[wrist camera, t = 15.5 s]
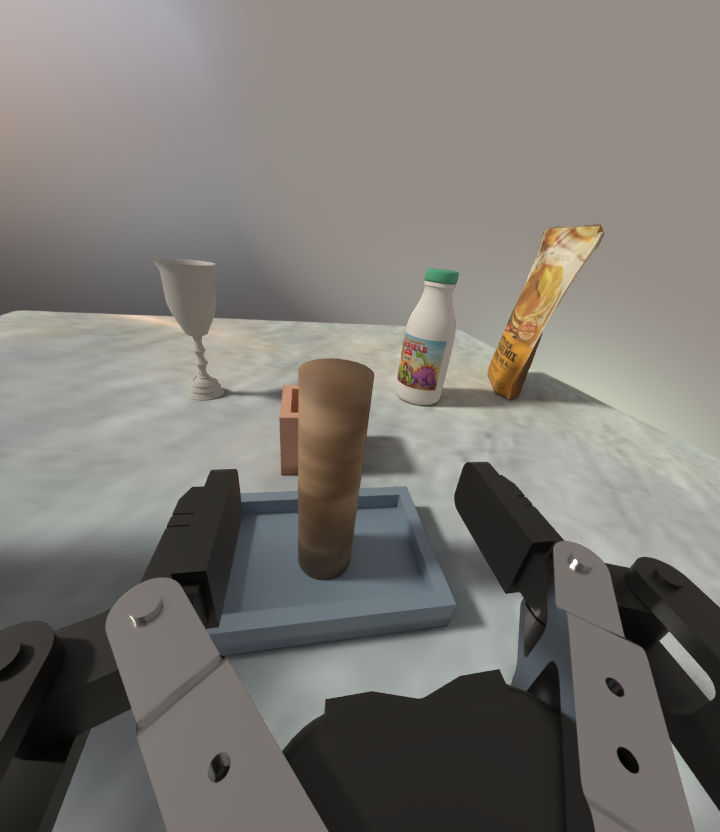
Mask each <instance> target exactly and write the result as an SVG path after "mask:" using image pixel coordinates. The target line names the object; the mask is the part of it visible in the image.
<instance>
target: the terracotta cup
mask: <svg viewBox="0 0 720 832" xmlns="http://www.w3.org/2000/svg"><path fill="white" fill-rule="evenodd" d="M298 405H299V385H283V393H282V401H281V410H280V445H281V474H282V475H298Z"/></svg>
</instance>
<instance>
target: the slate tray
mask: <svg viewBox="0 0 720 832" xmlns="http://www.w3.org/2000/svg"><path fill="white" fill-rule="evenodd" d="M240 494H241V502H242V517H241V524H240V529H239V534H238V539H237V544H236V548H235V553H234V558H233V563H232V568H231V572H230V577H229V582H228V587H227V592H226V597H225V601H224V606H223V611H222V616H221V621H220V625H219V627H218V628H210V629H206V631H207V633H208V634H209V636H210V638H211V640H212V641H213V643H214V645H215V647H216V648H217V650H218V652H219V653H220V654H221V656H225V655H232V654H239V653H247V652H254V651H262V650H269V649H277V648H284V647H292V646H299V645H307V644H314V643H322V642H329V641H336V640H344V639H351V638H359V637H366V636H374V635H381V634H389V633H396V632H404V631H411V630H419V629H426V628H434V627H441V626H447V625H448V623H449V621H450V618H451V616H452V614H453V611H454V609H455V607H456V602H455V600H454V598H453V595H452V593H451V591H450V588H449V586H448V583H447V581H446V579H445V576H444V574H443V572H442V569H441V567H440V565H439V562H438V560H437V557H436V555H435V553H434V550H433V548H432V546H431V543H430V541H429V539H428V536H427V534H426V531H425V529H424V527H423V524H422V522H421V520H420V517H419V515H418V513H417V510H416V508H415V506H414V503H413V501H412V498H411V496H410V494H409V491H408V489H407V487H384V488H360V490H359V498H358V505H357V513H356V521H355V529H354V537H353V544H352V552H351V560H350V564H349V566H348V568H347V569H346V571H345V572H344V573H343V574H341V575H340V576H338V577H337V578H334V579H331V580H316V579H313V578H311V577H309V576H308V575H306V574H305V573H304V572H303V571H302V569H301V568H300V565H299V562H298V491H288V492H264V493H240Z"/></svg>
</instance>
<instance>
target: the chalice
mask: <svg viewBox="0 0 720 832" xmlns="http://www.w3.org/2000/svg"><path fill="white" fill-rule="evenodd" d="M153 261H154V262H155V264H156V265H157V267H158V268H159V270H160V273H161V278H162V284H163V288H164V294H165V299H166V303H167V305H168V306H169V309H170V310H171V312H172V314H173V316H174V318H175V319H176V321H177V322H178V323H179V325H180V326H181V328H182V329H183V331H184V332H185V333H186V334H187V335H190V336H193V339H194V341H195V347H194V349H193V351H194V352H195V353H196V355H197V360H196V362H195V364H196V365H198V368H199V375H198V377H195V378H194V379H193V380H192V382H191V386H190V387H189V389H190V390H189V392H188V396H189V397H190V398H192V399H195V400H211V399H215V398H218V397H220V396H222V395H223V394H224V390H223V389H222V388H221V385H220V384H219V383H218V380H217V379H216V378H214V377H213V376H209V374H207V372H206V365H207V363H208V362H207V361H206V360H205V358H204V352H205V348H204V347H203V345H202V342H201V341H202V336H204V335H206V334H207V333H208V331H209V328H210V326H211V323H212V320H213V317H214V313H215V308H216V296H215V288H214V280H213V270H214V268H215V265H216V264H214V263H210V262H204V261H196V260H184V259H154V260H153Z"/></svg>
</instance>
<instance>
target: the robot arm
mask: <svg viewBox="0 0 720 832" xmlns="http://www.w3.org/2000/svg"><path fill="white" fill-rule="evenodd" d="M454 500H455V506H456V509H457V511H458V513H459V514H460V516H461V518H462V520H463V521H464V523H465V525H466V526H467V528H468V530H469V532H470V533H471V535H472V537H473V539H474V540H475V542H476V544H477V545H478V547H479V549H480V551H481V552H482V554H483V556H484V558H485V559H486V561H487V563H488V564H489V566H490V568H491V570H492V571H493V573H494V575H495V576H496V578H497V580H498V582H499V583H500V585H501V587H502V589H503V590H504V592H505V594H507V593H515V592H520V593H521V594H522V596H523V597H524V598H523V600H522V602H521V606H520V623H519V641H518V659H517V666H516V671H515V674H514V676H513V680H512V683H511V685H508V684H506V683H505V681H504V679H503V676H502V674H501V672H500V670H499V669H497V670H492V671H486V672H480V673H475V674H469V675H463V676H459V677H458V678H456V679H454V680H453V681H451V682H449V683H448V684H446V685H444V686H443V687H441V688H439V689H438V690H436V691H434V692H433V693H431V694H429V695H428V696H426V697H424V698H421V699H416V698H410V697H404V696H397V695H391V694H385V693H379V692H373V691H371V692H366V693H360V694H354V695H348V696H343V697H337V698H331V699H326V701H325V712H324V714H323V715H322V716H320V717H318V718H316V719H315V720H313V721H312V722H310V723H309V724H308V725H307V726H305V727H304V728H303V729H302V730H301V731H300V732H299V733H298V734H297V735H296V736H295V737H294V738H293V739H292V740H291V741H290V742H289V743H288V745H287V746H286V747H285V748H284V750H283V751H281V749H280V748H279V746H278V744H277V742H276V741H275V739H274V737H273V736H272V734H271V732H270V730H269V729H268V727H267V725H266V724H265V722H264V720H263V718H262V717H261V715H260V713H259V712H258V710H257V708H256V706H255V705H254V703H253V701H252V700H251V698H250V696H249V694H248V693H247V691H246V689H245V688H244V686H243V684H242V682H241V681H240V679H239V677H238V675H237V674H236V672H235V670H234V669H233V667H232V665H231V664H230V662H229V661H228V660H227V658H226V657H225V656H221V654H220V653H219V652H218V650H217V648H216V647H215V645H214V643H213V641H212V640H211V638H210V636H209V634H208V633H207V631H206V629H210V628H218V627H219V625H220V621H221V616H222V611H223V606H224V601H225V597H226V592H227V587H228V582H229V577H230V572H231V568H232V563H233V558H234V553H235V548H236V544H237V539H238V534H239V529H240V524H241V517H242V502H241V494H240V486H239V478H238V472H237V469H221V470H211V471H210V473H209V476H208V478H207V481H206V483H205V486H204V487H192V488H191V489H190V490H189V491H187V492H186V493H185V494H184V495H183V496H182V497H181V498H180V499H179V501H178V503H177V505H176V507H175V510H174V512H173V516H172V517H171V518H170V520H169V523H168V525H167V529H165V531H164V533H163V535H162V538H161V540H160V542H159V544H158V546H157V548H156V551H155V553H154V555H153V557H152V559H151V561H150V564H149V566H148V568H147V570H146V572H145V574H144V576H143V578H142V580H141V582H140V583H139V584H138V585H136V586H134V587H133V588H131V589H130V590H128V591H127V592H126V593H125V594H123V595H122V596H121V597H120V598H119V599H118V601H117V602H116V603H115V604H114V606H113V607H112V608H111V609H109V610H107V611H106V612H104V613H101V614H99V615H96V616H94V617H91V618H88V619H86V620H83V621H80V622H78V623H75V624H72V625H70V626H67V627H64V628H62V629H59V630H56V631H53V630H52V628H51V627H50V626H49V625H48V624H46V623H43V622H38V621H32V622H25V623H20V624H17V625H14V626H11V627H9V628H7V629H4V630H2V631H0V832H52V829H53V827H54V824H55V821H56V819H57V816H58V813H59V811H60V808H61V805H62V803H63V800H64V798H65V795H66V792H67V790H68V787H69V784H70V782H71V779H72V776H73V774H74V771H75V769H76V766H77V763H78V761H79V758H80V755H81V753H82V750H83V747H84V745H85V742H86V739H87V737H88V734H89V732H90V729H91V728H93V727H95V726H97V725H99V724H101V723H103V722H105V721H107V720H109V719H111V718H113V717H115V716H117V715H119V714H121V713H123V712H125V711H127V710H129V709H131V708H132V711H133V714H134V717H135V721H136V725H137V728H136V735H137V739H138V743H139V746H140V750H141V753H142V756H143V759H144V762H145V765H146V768H147V771H148V774H149V777H150V780H151V784H152V787H153V790H154V793H155V796H156V799H157V802H158V805H159V808H160V811H161V814H162V817H163V820H164V823H165V827H166V830H167V832H695V829H694V826H693V822H692V819H691V815H690V811H689V808H688V804H687V800H686V797H685V793H684V789H683V786H682V782H681V778H680V775H679V771H678V768H677V764H676V760H675V757H674V753H673V749H672V746H671V742H672V743H673V745H674V746H675V748H676V749H677V751H678V752H679V753H680V755H681V756H682V758H683V759H684V761H685V762H686V764H687V765H688V766H689V768H690V769H691V771H692V772H693V774H694V775H695V776H696V778H697V779H698V781H699V782H700V784H701V785H702V786H703V788H704V789H705V791H706V792H707V794H708V795H709V796H710V798H711V799H712V801H713V802H714V804H715V805H716V806H717V808H718V809H719V811H720V607H719V606H718V605H716V604H715V603H714V602H713V601H712V600H711V599H710V598H709V597H708V596H707V595H706V594H705V593H703V592H702V591H701V590H700V589H699V588H698V587H697V586H696V585H695V584H694V583H693V582H691V581H690V580H689V579H688V578H687V577H686V576H685V575H684V574H682V573H681V572H680V571H678V570H677V569H675V568H674V567H672V566H670V565H668V564H666V563H664V562H662V561H660V560H657V559H654V558H649V557H641V558H638V559H637V560H636V561H635V562H634V564H633V565H632V566H631V567H630V568H627V567H622V566H617V565H612V564H607V563H604V562H603V561H602V560H601V559H600V558H599V557H598V556H597V555H596V554H595V553H593V552H592V551H591V550H589V549H588V548H586V547H584V546H582V545H580V544H577V543H574V542H570V541H564V540H563V538H562V537H561V536H560V535H559V534H558V533H557V532H556V531H555V529H554V528H553V527H552V526H551V525H550V524H549V523H548V521H547V520H546V519H545V518H544V517H543V516H542V515H541V513H540V512H539V511H538V510H537V509H536V508H535V507H533V506H532V503H531V502H530V501H529V500H528V499H527V497H524V494H523V493H522V492H521V491H520V489H519V488H518V487H517V486H516V485H515V484H514V483H512V482H511V481H510V480H508V479H507V478H505V477H504V476H502V475H499V474H498V473H497V471H496V470H495V469H494V468H493V467H492V466H491V464H490V463H488V462H467V463H466V464H465V465H464V467H463V469H462V473H461V476H460V479H459V482H458V485H457V488H456V491H455V496H454ZM669 631H670V633H671V634H672V635H673V636H674V637H675V638H676V639H677V640H678V642H679V643H680V644H681V645H682V646H683V647H684V648H685V649H686V651H687V652H688V653H689V654H690V655H691V656H692V657H693V658H694V659H695V661H696V662H697V663H698V664H699V665H700V666H701V667H702V668H703V670H704V671H705V672H706V673H707V674H708V676H709V677H710V678H711V680H712V682H713V684H714V687H715V691H716V695H715V698H714V699H713V700H711V701H709V699H708V698H707V697H706V696H705V695H704V694H703V692H702V691H701V690H700V689H699V688H698V686H697V685H696V684H695V683H694V682H693V680H692V679H691V678H690V677H689V676H688V675H687V673H686V672H685V671H684V670H683V669H682V667H681V666H680V665H679V664H678V663H677V662H676V660H675V659H674V658H673V657H672V656H671V654H670V653H669V652H668V651H667V650H666V649H665V647H664V646H663V645H662V644H661V643H660V640H661V639H662V638H663V637H664V636H665V635H666V634H667V633H668V632H669ZM670 741H671V742H670Z"/></svg>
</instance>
